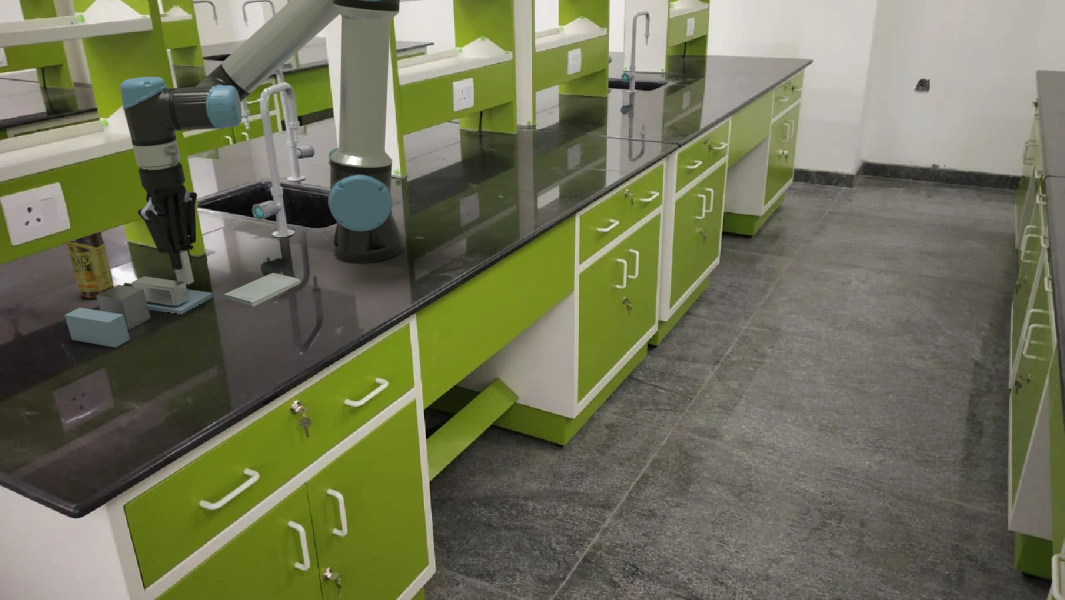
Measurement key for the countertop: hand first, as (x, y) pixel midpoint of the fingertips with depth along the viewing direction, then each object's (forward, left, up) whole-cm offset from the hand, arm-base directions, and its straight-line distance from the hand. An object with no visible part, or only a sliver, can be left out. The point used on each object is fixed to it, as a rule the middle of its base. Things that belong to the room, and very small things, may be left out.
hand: (185, 282), depth 159 cm
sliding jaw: (+2, +7, -1) cm, 7 cm away
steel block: (+1, +14, -2) cm, 14 cm away
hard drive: (-14, -5, -3) cm, 15 cm away
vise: (0, +12, -2) cm, 12 cm away
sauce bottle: (+17, +6, -2) cm, 18 cm away
